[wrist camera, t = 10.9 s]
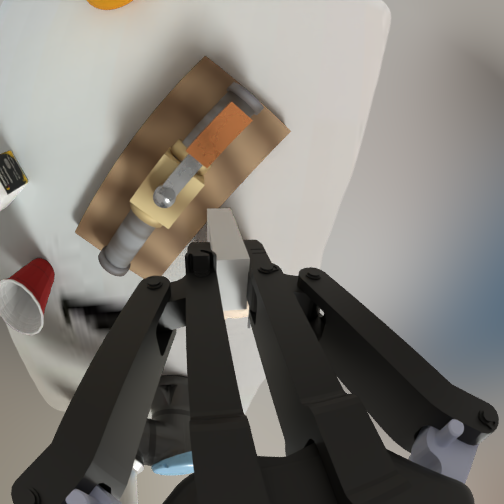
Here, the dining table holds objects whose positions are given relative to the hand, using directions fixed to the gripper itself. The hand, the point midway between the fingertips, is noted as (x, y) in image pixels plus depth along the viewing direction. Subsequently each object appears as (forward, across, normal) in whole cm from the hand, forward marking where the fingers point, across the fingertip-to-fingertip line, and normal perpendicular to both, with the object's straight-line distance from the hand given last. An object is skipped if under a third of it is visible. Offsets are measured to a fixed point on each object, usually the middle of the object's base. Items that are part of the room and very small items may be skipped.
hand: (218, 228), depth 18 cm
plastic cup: (+24, -32, -17) cm, 43 cm away
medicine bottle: (+24, -35, +1) cm, 42 cm away
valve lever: (+15, -1, +3) cm, 15 cm away
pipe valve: (+23, -5, -2) cm, 24 cm away
